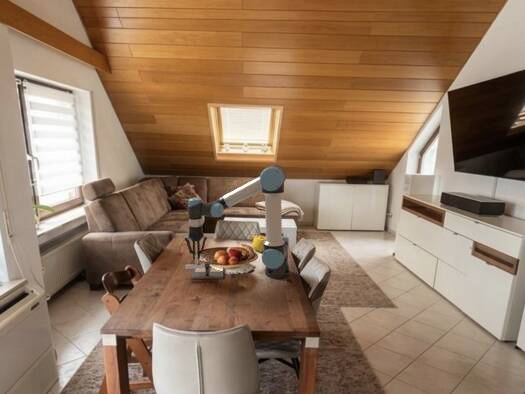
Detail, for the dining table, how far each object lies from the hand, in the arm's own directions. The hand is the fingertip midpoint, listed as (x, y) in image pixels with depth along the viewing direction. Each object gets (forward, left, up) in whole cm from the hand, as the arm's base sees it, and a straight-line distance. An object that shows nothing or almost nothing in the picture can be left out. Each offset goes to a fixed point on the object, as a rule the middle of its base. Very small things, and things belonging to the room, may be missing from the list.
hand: (196, 264), depth 178 cm
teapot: (-41, -37, -6) cm, 55 cm away
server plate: (-6, 0, -6) cm, 9 cm away
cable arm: (-1, +5, 0) cm, 5 cm away
